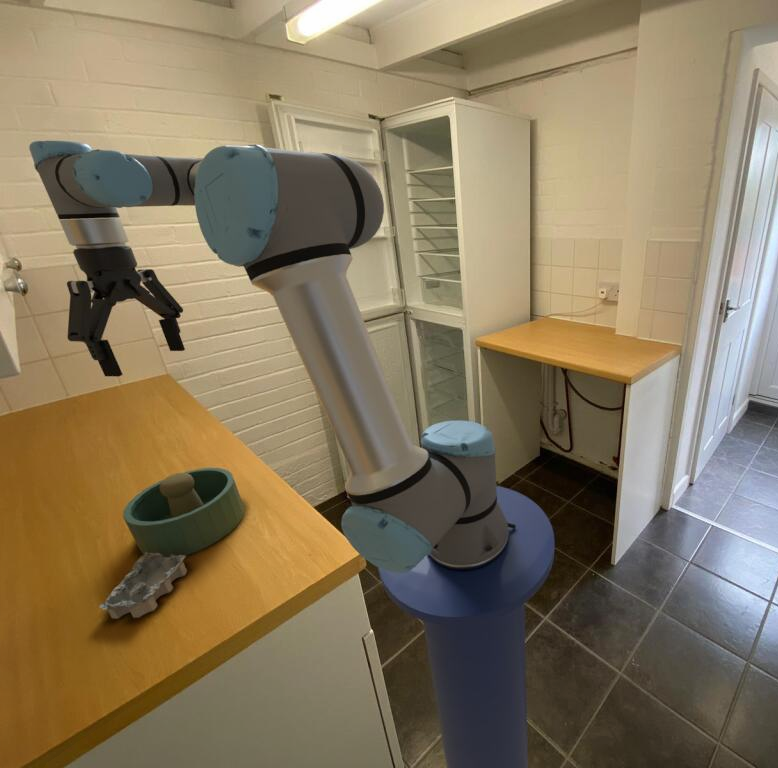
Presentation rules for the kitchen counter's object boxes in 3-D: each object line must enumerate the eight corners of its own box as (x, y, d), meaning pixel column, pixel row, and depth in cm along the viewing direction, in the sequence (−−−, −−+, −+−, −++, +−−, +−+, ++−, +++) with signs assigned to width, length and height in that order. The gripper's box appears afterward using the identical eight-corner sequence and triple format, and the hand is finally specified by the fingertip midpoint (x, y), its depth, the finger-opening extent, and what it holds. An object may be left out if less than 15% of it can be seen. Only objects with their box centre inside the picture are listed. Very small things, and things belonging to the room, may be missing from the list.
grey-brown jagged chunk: (156, 565, 75) (148, 548, 73) (196, 566, 74) (189, 548, 73) (99, 620, 65) (88, 601, 63) (145, 621, 64) (135, 602, 63)
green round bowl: (262, 499, 91) (252, 469, 87) (201, 562, 75) (186, 527, 72) (190, 496, 92) (177, 466, 89) (115, 556, 77) (96, 522, 74)
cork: (181, 516, 85) (161, 472, 81) (215, 509, 87) (197, 465, 82) (169, 537, 80) (148, 490, 75) (206, 529, 82) (187, 483, 77)
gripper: (146, 240, 83) (183, 341, 92) (-8, 255, 60) (60, 388, 69) (181, 239, 82) (214, 341, 91) (38, 254, 60) (101, 389, 68)
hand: (148, 362), depth 80 cm, fingers open, 13 cm apart
